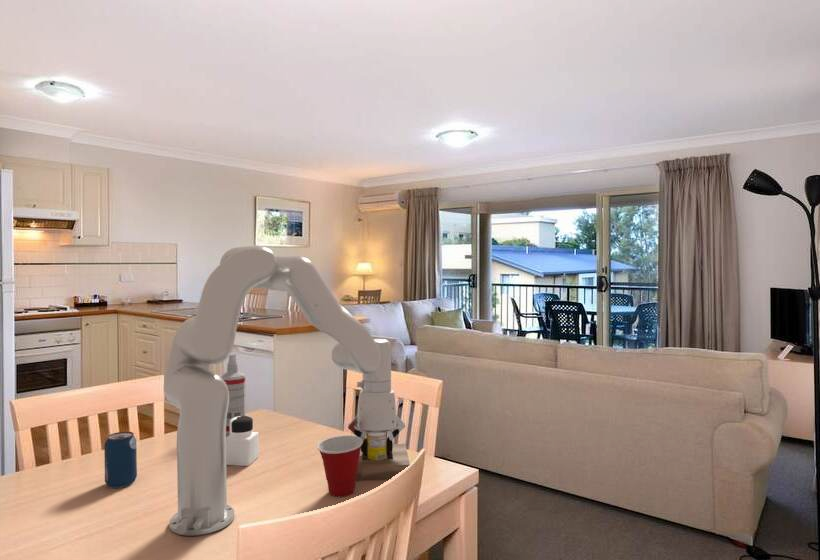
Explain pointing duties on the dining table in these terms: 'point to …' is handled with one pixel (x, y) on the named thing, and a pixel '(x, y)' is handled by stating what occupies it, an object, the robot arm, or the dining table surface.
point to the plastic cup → (341, 462)
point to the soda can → (120, 459)
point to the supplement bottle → (376, 445)
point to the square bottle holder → (383, 464)
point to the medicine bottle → (242, 442)
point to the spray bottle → (234, 391)
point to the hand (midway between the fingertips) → (376, 453)
